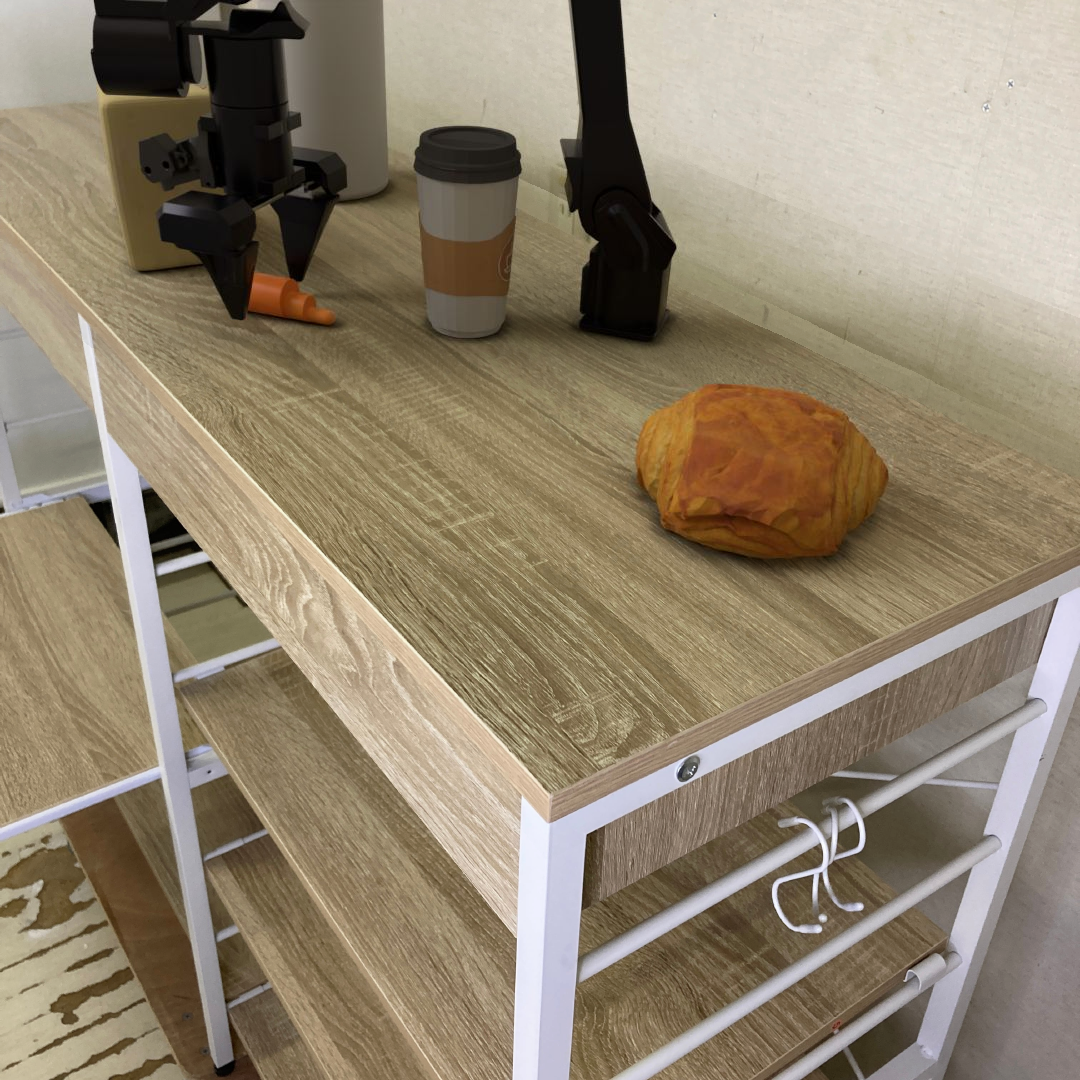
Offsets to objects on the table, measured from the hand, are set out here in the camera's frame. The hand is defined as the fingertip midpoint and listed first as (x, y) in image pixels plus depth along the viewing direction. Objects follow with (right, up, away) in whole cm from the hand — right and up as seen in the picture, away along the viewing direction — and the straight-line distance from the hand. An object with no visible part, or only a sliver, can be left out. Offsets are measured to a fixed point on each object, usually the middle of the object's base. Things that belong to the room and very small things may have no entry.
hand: (268, 299), depth 90 cm
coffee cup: (+16, -2, +1) cm, 16 cm away
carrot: (0, -1, 0) cm, 1 cm away
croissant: (+35, -18, -21) cm, 45 cm away
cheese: (-15, +10, +16) cm, 24 cm away
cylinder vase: (-1, +19, +31) cm, 36 cm away
